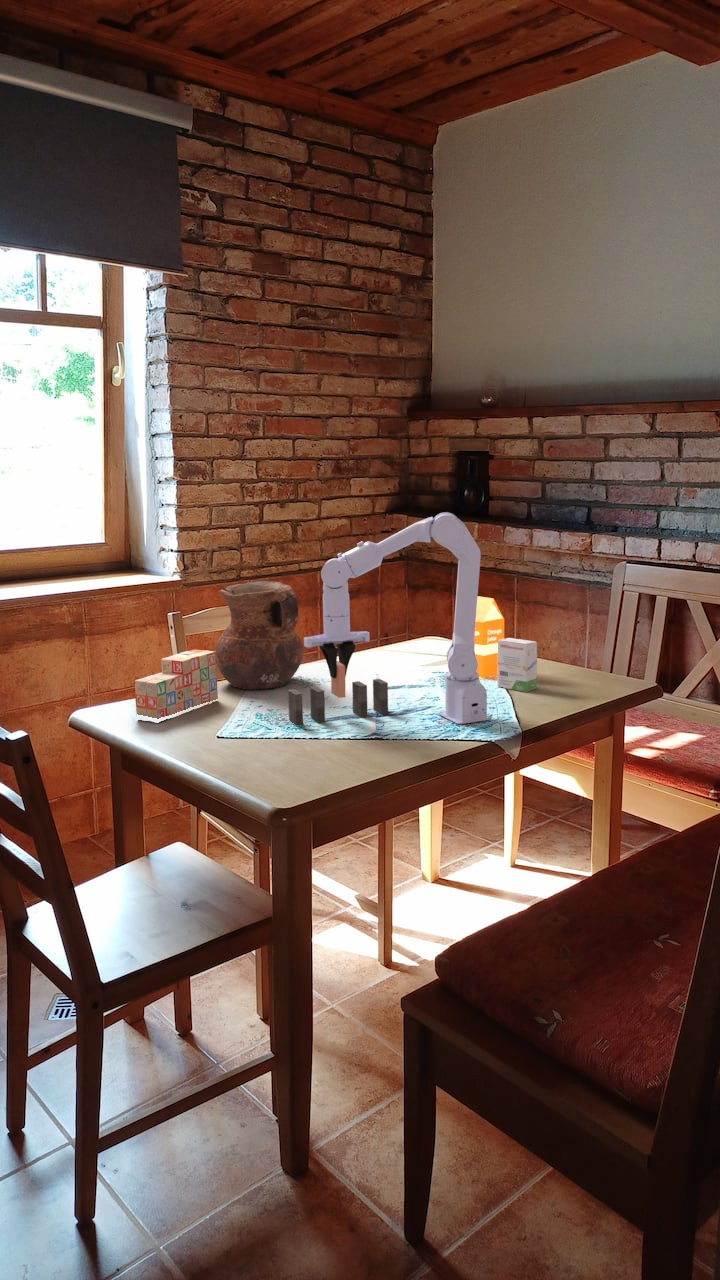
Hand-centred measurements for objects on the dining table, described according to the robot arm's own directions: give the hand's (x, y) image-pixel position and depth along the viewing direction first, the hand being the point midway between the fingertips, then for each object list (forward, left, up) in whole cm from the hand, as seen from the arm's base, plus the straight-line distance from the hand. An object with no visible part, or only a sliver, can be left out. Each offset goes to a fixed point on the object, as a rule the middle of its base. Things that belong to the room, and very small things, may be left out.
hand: (338, 676), depth 212 cm
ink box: (+4, -48, -9) cm, 49 cm away
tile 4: (0, +10, -9) cm, 14 cm away
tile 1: (0, -10, -9) cm, 14 cm away
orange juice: (+21, -48, -9) cm, 53 cm away
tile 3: (0, +5, -9) cm, 10 cm away
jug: (+38, +6, -9) cm, 40 cm away
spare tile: (0, 0, -4) cm, 4 cm away
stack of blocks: (+22, +30, -10) cm, 39 cm away
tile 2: (0, -5, -9) cm, 10 cm away
